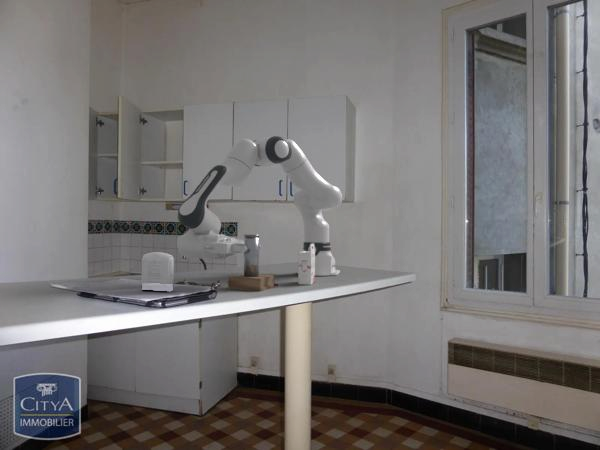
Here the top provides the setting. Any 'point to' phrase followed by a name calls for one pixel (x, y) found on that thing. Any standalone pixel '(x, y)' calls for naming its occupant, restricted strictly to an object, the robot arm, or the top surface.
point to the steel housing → (251, 256)
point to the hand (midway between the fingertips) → (253, 248)
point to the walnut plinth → (251, 282)
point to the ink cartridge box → (306, 266)
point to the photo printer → (157, 268)
